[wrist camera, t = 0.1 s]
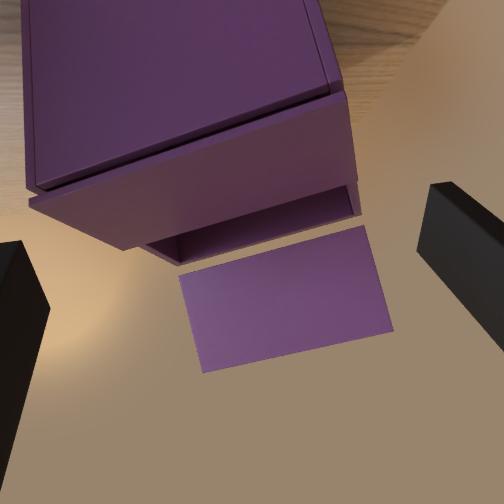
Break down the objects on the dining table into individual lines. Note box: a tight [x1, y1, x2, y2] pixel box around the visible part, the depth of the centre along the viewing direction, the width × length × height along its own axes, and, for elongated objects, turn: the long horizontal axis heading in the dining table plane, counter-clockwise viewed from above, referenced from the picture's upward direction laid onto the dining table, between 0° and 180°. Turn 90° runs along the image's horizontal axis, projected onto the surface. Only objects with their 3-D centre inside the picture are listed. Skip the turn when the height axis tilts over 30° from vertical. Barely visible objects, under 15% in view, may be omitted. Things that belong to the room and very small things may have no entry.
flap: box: [178, 225, 394, 373], centre depth 29 cm, size 7×13×1 cm
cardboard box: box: [21, 0, 362, 266], centre depth 24 cm, size 14×13×11 cm
